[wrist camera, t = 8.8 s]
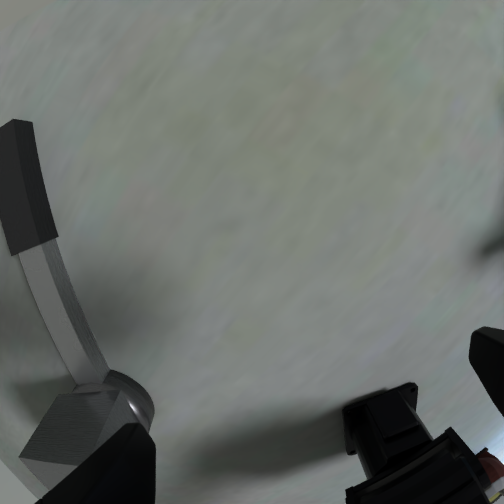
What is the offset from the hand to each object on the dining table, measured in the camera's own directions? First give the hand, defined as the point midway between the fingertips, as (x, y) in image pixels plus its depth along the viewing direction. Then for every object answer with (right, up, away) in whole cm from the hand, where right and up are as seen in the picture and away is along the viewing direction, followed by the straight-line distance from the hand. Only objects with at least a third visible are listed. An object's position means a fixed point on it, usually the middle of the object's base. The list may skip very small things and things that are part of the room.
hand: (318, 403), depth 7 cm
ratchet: (-14, 0, +12) cm, 18 cm away
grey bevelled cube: (-12, -8, +11) cm, 19 cm away
